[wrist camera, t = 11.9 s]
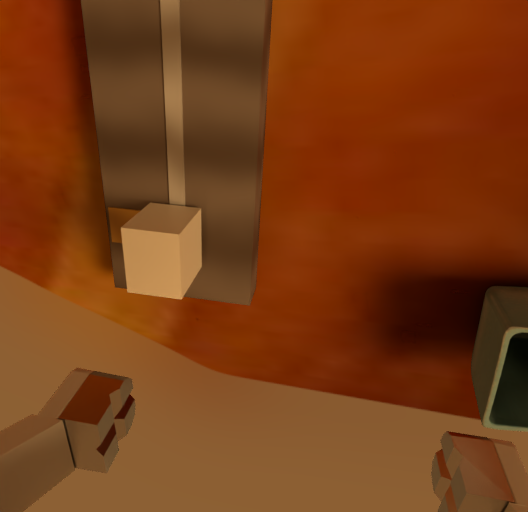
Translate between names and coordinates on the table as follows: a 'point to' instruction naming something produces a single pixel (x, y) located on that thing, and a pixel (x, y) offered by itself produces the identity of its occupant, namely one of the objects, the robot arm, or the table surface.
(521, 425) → the flower pot
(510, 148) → the table surface
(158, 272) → the fader
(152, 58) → the track board
